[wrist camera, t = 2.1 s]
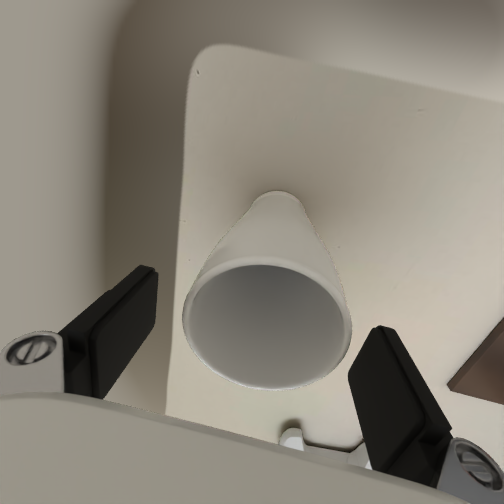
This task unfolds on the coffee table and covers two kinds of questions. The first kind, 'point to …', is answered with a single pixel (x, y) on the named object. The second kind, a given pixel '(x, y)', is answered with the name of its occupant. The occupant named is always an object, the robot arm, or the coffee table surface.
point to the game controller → (295, 441)
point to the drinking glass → (269, 301)
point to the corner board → (484, 370)
